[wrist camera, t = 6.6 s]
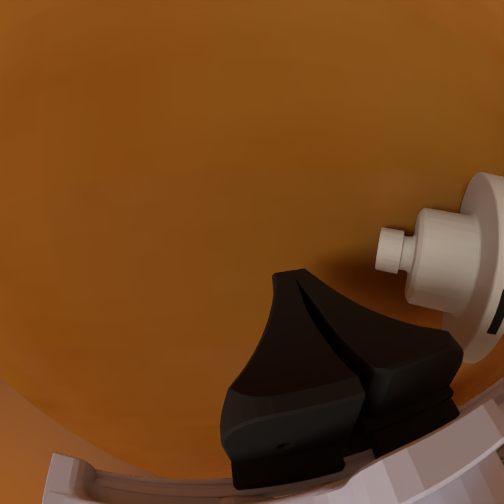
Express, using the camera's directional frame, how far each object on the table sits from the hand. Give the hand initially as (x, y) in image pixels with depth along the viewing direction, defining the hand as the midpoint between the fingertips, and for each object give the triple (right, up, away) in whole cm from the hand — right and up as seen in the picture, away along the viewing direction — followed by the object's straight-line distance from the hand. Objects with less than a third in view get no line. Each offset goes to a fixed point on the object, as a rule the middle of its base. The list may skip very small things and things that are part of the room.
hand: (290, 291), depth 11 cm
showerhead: (+5, +2, +2) cm, 6 cm away
